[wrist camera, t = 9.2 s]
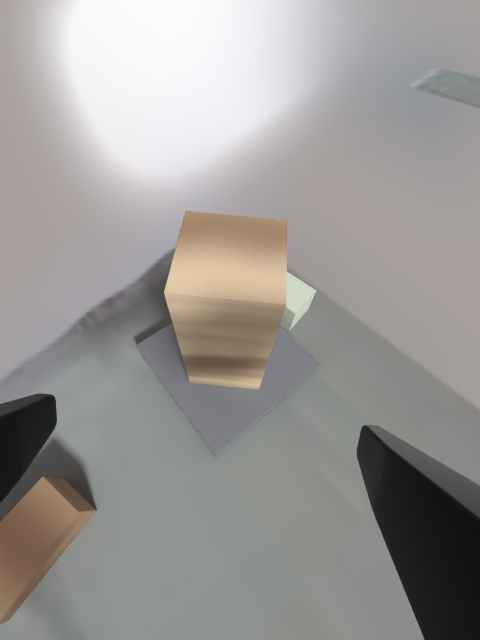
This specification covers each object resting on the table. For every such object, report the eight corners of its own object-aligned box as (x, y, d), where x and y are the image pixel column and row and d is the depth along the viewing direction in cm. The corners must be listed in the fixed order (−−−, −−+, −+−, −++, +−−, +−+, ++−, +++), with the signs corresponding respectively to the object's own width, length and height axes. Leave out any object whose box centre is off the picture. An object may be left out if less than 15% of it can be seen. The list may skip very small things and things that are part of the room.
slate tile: (216, 457, 21) (215, 455, 19) (140, 353, 24) (135, 345, 23) (314, 371, 24) (319, 363, 23) (235, 291, 28) (236, 281, 27)
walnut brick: (11, 618, 16) (-29, 640, 14) (-22, 577, 17) (-66, 591, 14) (98, 510, 19) (78, 511, 16) (66, 479, 20) (42, 476, 17)
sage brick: (307, 310, 27) (316, 290, 25) (288, 331, 26) (295, 313, 24) (256, 275, 29) (259, 254, 27) (236, 294, 28) (237, 273, 25)
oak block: (258, 389, 22) (286, 304, 12) (189, 382, 22) (164, 292, 12) (261, 329, 24) (286, 220, 15) (200, 323, 24) (185, 210, 15)
